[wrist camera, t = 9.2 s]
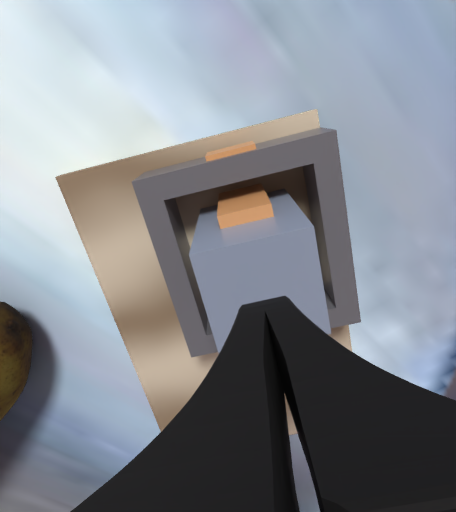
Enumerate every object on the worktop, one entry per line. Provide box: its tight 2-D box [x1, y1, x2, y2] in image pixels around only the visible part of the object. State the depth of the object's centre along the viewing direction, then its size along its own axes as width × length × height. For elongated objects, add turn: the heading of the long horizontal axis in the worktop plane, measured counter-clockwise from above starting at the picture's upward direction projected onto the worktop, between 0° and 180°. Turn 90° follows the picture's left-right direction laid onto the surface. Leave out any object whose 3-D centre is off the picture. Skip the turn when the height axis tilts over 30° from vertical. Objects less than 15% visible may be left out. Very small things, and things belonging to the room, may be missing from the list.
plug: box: [189, 183, 331, 353], centre depth 15 cm, size 4×4×6 cm
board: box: [56, 109, 352, 435], centre depth 20 cm, size 18×12×1 cm, turn 14°
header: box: [132, 128, 361, 358], centre depth 16 cm, size 9×8×2 cm
